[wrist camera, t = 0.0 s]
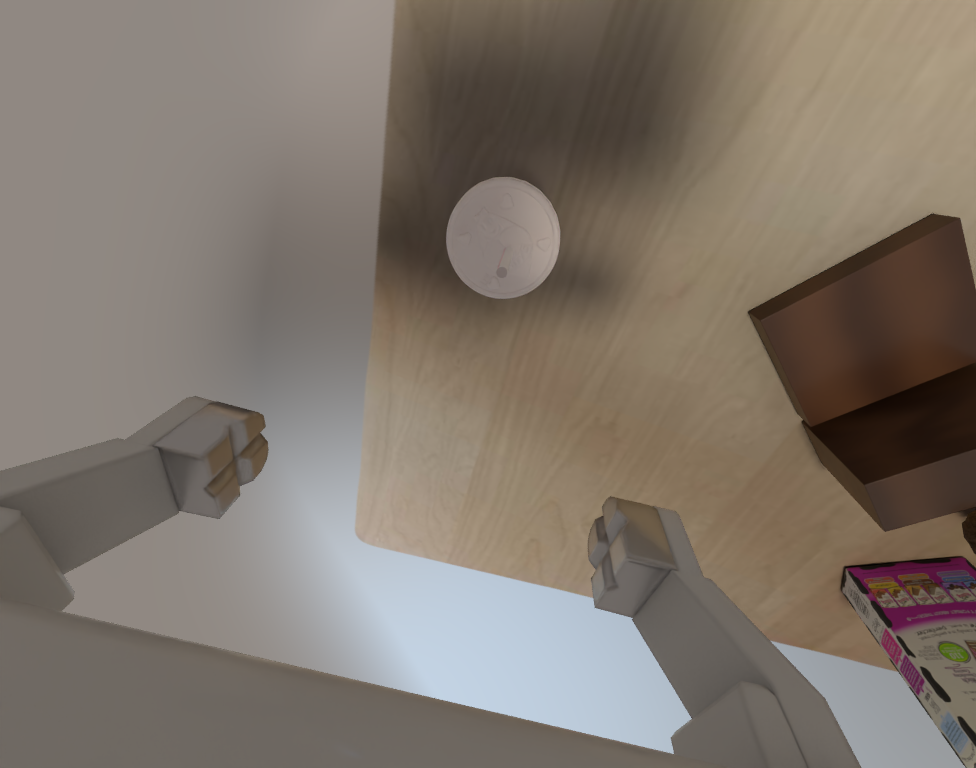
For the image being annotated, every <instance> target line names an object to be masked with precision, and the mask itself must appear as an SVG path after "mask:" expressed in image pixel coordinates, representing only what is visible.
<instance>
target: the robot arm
mask: <svg viewBox="0 0 976 768" xmlns="http://www.w3.org/2000/svg"><path fill="white" fill-rule="evenodd" d="M264 428H265V420H264V416H263V415H262V414H260V413H258V412H255V411H251V410H247V409H243V408H240V407H236V406H232V405H228V404H225V403H221V402H215V401H211V400H207V399H204V398H200V397H196V396H194V397H189V398H186V399H185V400H183V401H181V402H180V403H178V404H177V405H176V406H174V407H173V408H171V409H170V410H168V411H167V412H165V413H164V414H162V415H161V416H159V417H158V418H156V419H155V420H153V421H152V422H150V423H149V424H147V425H146V426H145V427H143V428H142V429H140V430H139V431H137V432H136V433H134V434H133V435H131V436H130V437H128V438H127V439H125V440H123V439H118V438H117V439H113V440H109V441H106V442H103V443H99V444H95V445H91V446H88V447H84V448H81V449H77V450H74V451H70V452H66V453H63V454H59V455H56V456H52V457H49V458H45V459H42V460H38V461H34V462H31V463H28V464H24V465H20V466H16V467H13V468H9V469H6V470H3V471H0V768H861V766H860V764H859V762H858V760H857V759H856V757H855V755H854V753H853V751H852V749H851V747H850V745H849V743H848V742H847V739H846V738H845V736H844V734H843V732H842V730H841V728H840V726H839V724H838V722H837V721H836V718H835V717H834V715H833V713H832V711H831V709H830V708H829V705H828V703H827V701H826V699H825V698H824V697H823V696H822V695H821V694H820V693H819V692H818V691H817V690H816V689H815V687H814V686H813V685H811V683H810V682H808V680H807V679H806V678H805V677H804V676H803V675H802V674H801V673H800V672H799V671H798V670H797V669H796V668H795V667H794V666H793V665H792V663H791V662H790V661H789V660H788V659H787V658H786V657H785V656H784V655H783V654H782V653H781V652H780V651H779V650H778V649H777V648H776V647H775V646H774V645H773V644H772V643H771V642H770V640H769V639H768V638H767V637H766V636H765V635H764V634H763V633H762V632H761V631H760V630H759V629H758V628H757V627H756V626H755V625H754V624H753V623H752V622H751V621H750V620H749V619H748V618H747V616H746V615H745V614H744V613H743V612H742V611H741V610H740V609H739V608H738V607H737V606H736V605H735V604H734V603H733V602H732V601H731V600H730V599H729V598H728V597H727V596H726V595H725V593H724V592H723V591H722V590H721V589H720V588H719V587H718V586H717V585H716V584H715V583H714V582H713V581H712V580H711V579H708V578H704V576H703V574H702V571H701V569H700V566H699V564H698V561H697V559H696V556H695V554H694V551H693V549H692V546H691V544H690V541H689V539H688V536H687V534H686V531H685V529H684V526H683V524H682V521H681V519H680V516H679V515H678V514H677V512H676V511H673V510H669V509H664V508H660V507H656V506H650V505H646V504H642V503H637V502H633V501H629V500H624V499H620V498H616V497H611V496H610V497H609V498H608V499H606V501H605V502H604V504H603V506H602V511H603V516H601V517H599V518H597V519H595V521H594V523H593V525H592V527H591V529H590V533H589V538H588V558H589V561H590V562H591V564H592V565H593V567H594V568H595V569H596V571H595V573H594V574H593V576H592V578H591V582H592V590H593V598H594V605H595V608H598V609H601V610H605V611H609V612H613V613H616V614H620V615H624V616H628V617H631V618H633V619H632V620H633V622H634V624H635V625H636V627H637V629H638V630H639V632H640V634H641V635H642V637H643V639H644V640H645V642H646V644H647V645H648V647H649V648H650V650H651V652H652V653H653V655H654V657H655V658H656V660H657V662H658V663H659V665H660V667H661V668H662V670H663V672H664V673H665V675H666V676H667V678H668V680H669V682H670V683H671V685H672V686H673V688H674V689H675V691H676V693H677V695H678V696H679V698H680V700H681V701H682V703H683V704H684V706H685V708H686V709H687V711H688V713H689V715H690V716H691V718H692V719H691V720H690V721H689V722H687V723H686V724H685V725H684V726H682V727H681V728H680V729H678V730H677V731H676V732H675V733H674V735H673V736H672V737H671V741H672V745H673V750H674V754H671V753H666V752H662V751H658V750H653V749H649V748H645V747H641V746H637V745H632V744H628V743H624V742H619V741H615V740H610V739H607V738H602V737H598V736H594V735H589V734H585V733H581V732H576V731H572V730H568V729H564V728H559V727H555V726H550V725H547V724H542V723H538V722H533V721H529V720H525V719H521V718H517V717H512V716H508V715H504V714H499V713H495V712H491V711H486V710H482V709H478V708H474V707H469V706H465V705H461V704H457V703H452V702H448V701H443V700H439V699H435V698H430V697H427V696H422V695H418V694H413V693H409V692H405V691H401V690H397V689H392V688H388V687H384V686H379V685H375V684H371V683H367V682H362V681H358V680H353V679H349V678H345V677H341V676H337V675H332V674H328V673H324V672H319V671H315V670H311V669H307V668H302V667H297V666H293V665H289V664H285V663H281V662H276V661H272V660H268V659H264V658H259V657H255V656H251V655H246V654H242V653H238V652H234V651H229V650H225V649H221V648H216V647H212V646H208V645H204V644H199V643H194V642H191V641H186V640H182V639H178V638H173V637H169V636H165V635H161V634H156V633H152V632H148V631H143V630H139V629H134V628H131V627H126V626H122V625H117V624H113V623H109V622H105V621H100V620H96V619H92V618H87V617H83V616H79V615H75V614H70V613H66V612H62V610H63V609H64V608H65V607H66V606H67V605H68V604H69V603H70V602H71V601H72V600H73V599H74V590H73V589H72V587H71V586H70V584H69V583H68V582H67V580H66V578H65V577H64V575H63V574H65V573H67V572H69V571H71V570H73V569H74V568H76V567H78V566H80V565H82V564H84V563H86V562H88V561H90V560H91V559H93V558H95V557H97V556H99V555H101V554H103V553H105V552H107V551H108V550H110V549H112V548H114V547H116V546H118V545H120V544H122V543H124V542H125V541H127V540H129V539H131V538H133V537H135V536H137V535H139V534H141V533H142V532H144V531H146V530H148V529H150V528H152V527H154V526H156V525H158V524H159V523H161V522H163V521H165V520H167V519H169V518H171V517H173V516H175V515H177V514H178V513H179V511H183V512H187V513H192V514H198V515H202V516H207V517H212V518H217V519H220V517H221V516H222V515H223V514H224V513H225V512H226V511H227V510H228V509H229V507H230V506H231V505H232V504H233V503H234V502H235V501H236V500H237V498H238V497H239V496H240V486H242V485H244V484H246V483H249V482H251V481H253V480H254V479H255V478H256V477H257V475H258V474H259V473H260V472H261V470H262V468H263V466H264V464H265V462H266V460H267V456H268V442H267V440H266V439H265V438H264V437H263V436H262V434H261V433H260V432H261V431H262V430H263V429H264Z"/></svg>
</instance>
